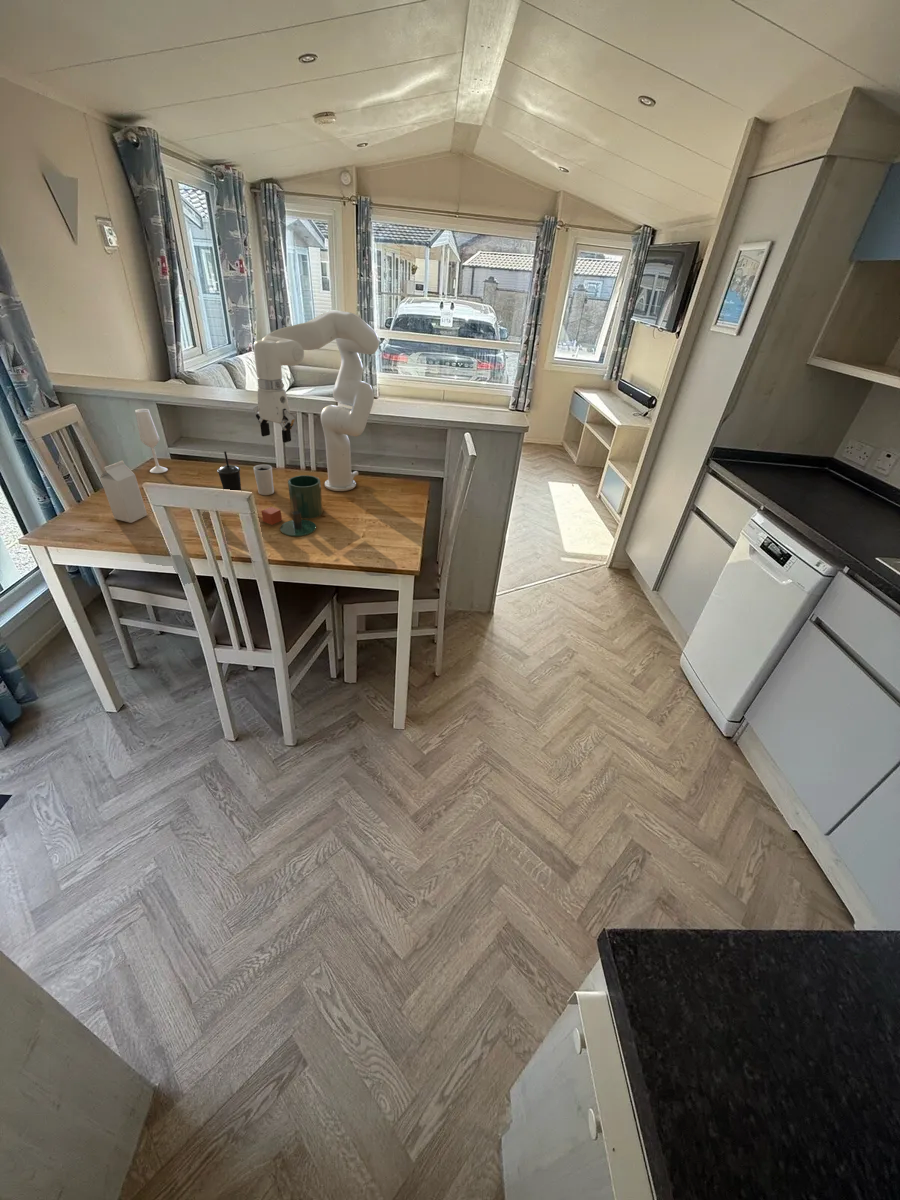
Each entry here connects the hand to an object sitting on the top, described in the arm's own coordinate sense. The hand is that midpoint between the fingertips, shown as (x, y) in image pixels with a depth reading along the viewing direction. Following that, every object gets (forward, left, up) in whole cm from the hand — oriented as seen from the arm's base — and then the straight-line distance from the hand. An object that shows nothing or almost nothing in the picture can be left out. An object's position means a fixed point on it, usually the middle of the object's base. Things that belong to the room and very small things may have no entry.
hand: (276, 438), depth 168 cm
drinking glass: (-9, -19, -27) cm, 35 cm away
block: (+8, +2, -27) cm, 28 cm away
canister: (-4, +6, -27) cm, 28 cm away
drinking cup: (+6, -19, -27) cm, 34 cm away
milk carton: (+34, -38, -27) cm, 58 cm away
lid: (+7, +13, -27) cm, 30 cm away
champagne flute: (+2, -69, -27) cm, 75 cm away
